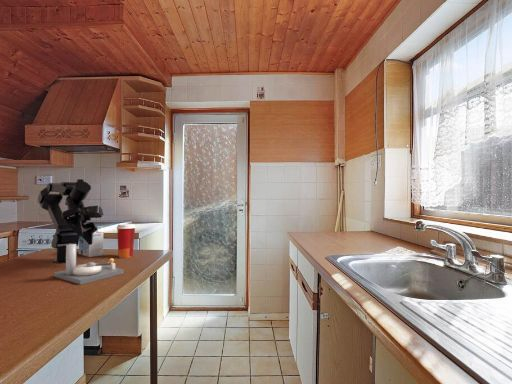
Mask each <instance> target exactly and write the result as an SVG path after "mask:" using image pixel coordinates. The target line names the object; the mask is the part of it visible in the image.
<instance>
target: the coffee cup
mask: <svg viewBox="0 0 512 384" xmlns="http://www.w3.org/2000/svg"><path fill="white" fill-rule="evenodd" d="M136 228H137V227H136V225H135V223H118V224H117V226H116V229H117V232H116V233H117V251H118V252H117V254H118V259H129V258H132V257H133V256H134V246H135V245H134V243H135V235H136V234H135V232H136Z"/></svg>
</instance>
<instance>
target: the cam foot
mask: <svg viewBox="0 0 512 384" xmlns="http://www.w3.org/2000/svg"><path fill="white" fill-rule="evenodd" d="M103 265H111V263H108V262H102V263H98V264H97V263H96V262H94V261H89V262H86V263H82V264H77V246H76V244H71V243H70V244H67V245H66V262H65V270H66V274H67V275H71V274H73V275H77V276H85V275H93V274H97V273H100V272H101V271H102V266H103Z"/></svg>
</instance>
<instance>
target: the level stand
mask: <svg viewBox="0 0 512 384" xmlns="http://www.w3.org/2000/svg"><path fill="white" fill-rule="evenodd" d="M107 263H111V265H103V266H102V271H101V272H100V273H97V274H93V275H85V276H77V275H73V274H71V275H67V274H66V269H65V270H59V271H54V272H53V277H55V278H58V279H61V280H64V281H67V282H70V283H73V284H77V285H83V284H88V283H91V282H96V281H100V280H103V279H108V278H111V277H115V276H118V275H122V274H124V272H125V271H124V268H120V267H119V268H118V267H116V263H115V259H114V258H112V257H111V258H109V259H108V262H107ZM97 264H99V263H97Z"/></svg>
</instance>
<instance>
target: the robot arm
mask: <svg viewBox="0 0 512 384" xmlns="http://www.w3.org/2000/svg"><path fill="white" fill-rule="evenodd" d="M91 190H92V187H91V184H90V183H88V182H87V181H84V179H83V178H82V179H80V178H77V180H76V181H75V182H74V181H61V182H49V183H47V185H46V187H44V188H43V189H42V190H40V191H39V194H38V196H37V203H38V204H39V206H40V207H41V209H43V210H45V211H47V212H48V214H49V217H50V218H51V221H52V223H53V226H54V228H55V232H54V233H55V234H54V235H53V238H52V240H51V241H50V242H51V243H50V244H51V248H53V249H56V259H53V260H52V262H54V263H58V264H64V263H65V264H66V245H67V244H76V247H79V237H81V236H82V237H83V238H84V240H85V241H86V242H87V243H88V244H89V245H91V244H92V242H93V233H94V232H96V231H98V230H99V229H98V226H97V225H96V224H95V223H94V222H92V221H91V220H92V219H94V218H95V219H97V218H102V217H103V216H104V210H103V208H102V207H101V206H100V205H89V206H85V204H84V201H85V200H86V198H87V197H88V194H89V193H90V191H91ZM64 196H66V198H65V203H64V205H65V206H67V209H66V210H64V211H62V208H61V206H60V205H61V202H62V200H63V197H64ZM87 221H90V222H87Z"/></svg>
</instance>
